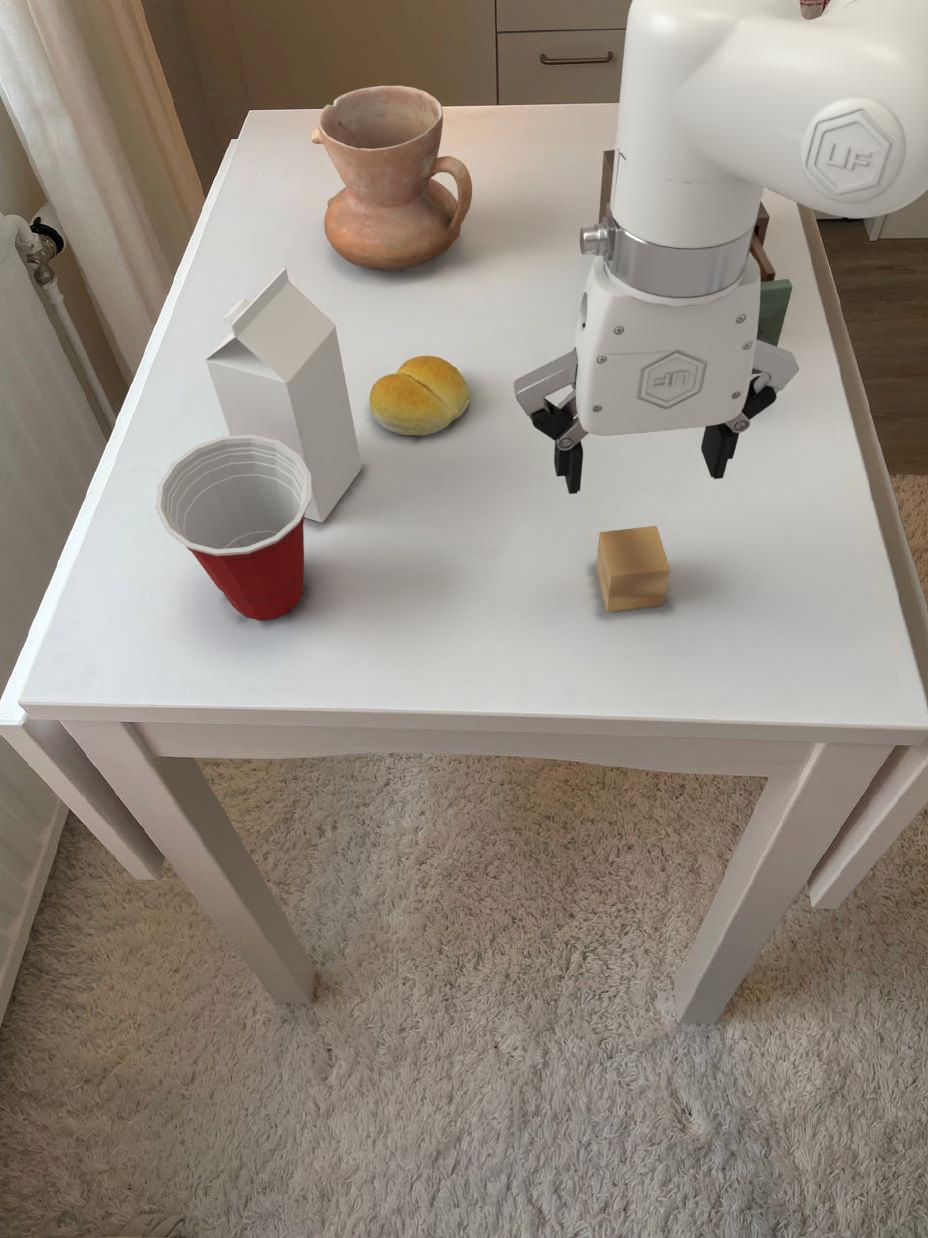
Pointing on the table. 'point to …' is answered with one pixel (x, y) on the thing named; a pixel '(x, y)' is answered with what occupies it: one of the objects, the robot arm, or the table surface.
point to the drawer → (770, 298)
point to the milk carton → (289, 386)
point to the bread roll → (420, 397)
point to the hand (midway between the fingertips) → (641, 471)
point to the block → (632, 568)
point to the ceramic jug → (390, 178)
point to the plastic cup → (242, 519)
